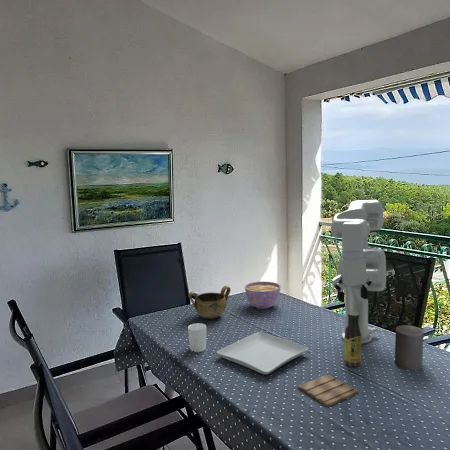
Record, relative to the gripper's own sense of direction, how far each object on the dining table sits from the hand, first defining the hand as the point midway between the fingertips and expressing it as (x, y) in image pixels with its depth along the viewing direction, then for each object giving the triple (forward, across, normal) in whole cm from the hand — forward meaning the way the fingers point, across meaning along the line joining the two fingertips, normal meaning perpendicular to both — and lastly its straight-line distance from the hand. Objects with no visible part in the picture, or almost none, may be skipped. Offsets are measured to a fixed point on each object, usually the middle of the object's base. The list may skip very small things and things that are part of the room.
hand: (352, 299), depth 156 cm
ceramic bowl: (+25, +38, -72) cm, 85 cm away
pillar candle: (+26, -19, +8) cm, 33 cm away
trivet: (+26, +19, +14) cm, 34 cm away
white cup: (+26, +53, -36) cm, 68 cm away
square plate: (+26, +30, -18) cm, 44 cm away
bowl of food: (+25, +7, -76) cm, 81 cm away
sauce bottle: (+26, 0, 0) cm, 26 cm away
